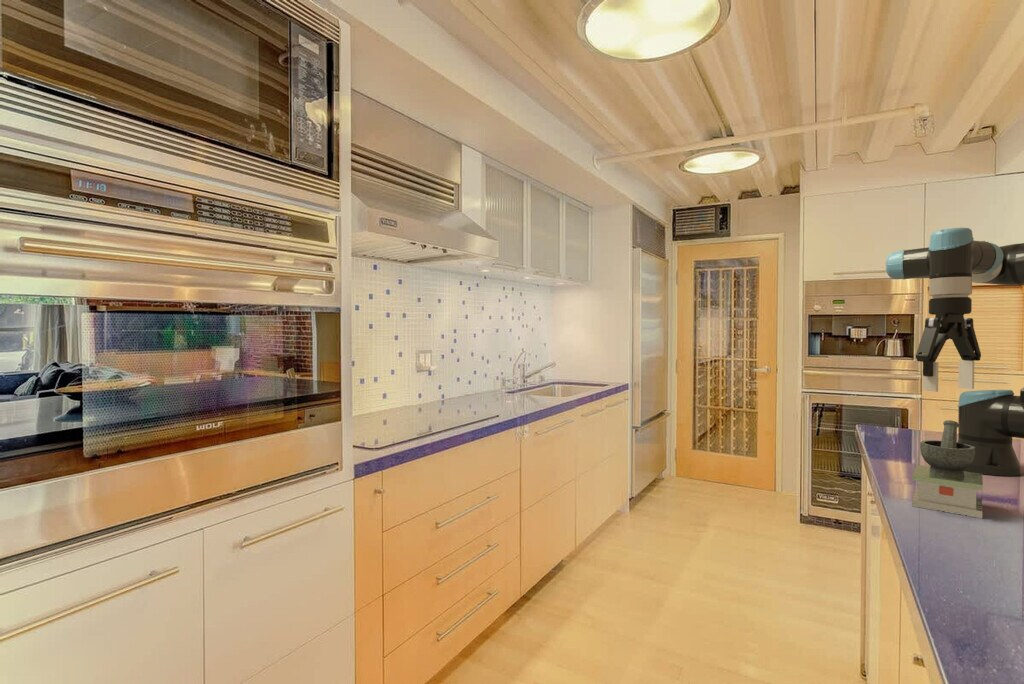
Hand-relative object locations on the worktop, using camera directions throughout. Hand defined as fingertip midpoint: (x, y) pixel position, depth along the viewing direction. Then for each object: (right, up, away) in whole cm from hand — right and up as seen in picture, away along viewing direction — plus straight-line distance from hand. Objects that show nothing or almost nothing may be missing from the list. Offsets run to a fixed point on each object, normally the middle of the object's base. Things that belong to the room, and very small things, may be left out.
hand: (948, 389), depth 120 cm
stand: (0, -27, 0) cm, 27 cm away
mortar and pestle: (0, -20, +1) cm, 20 cm away
